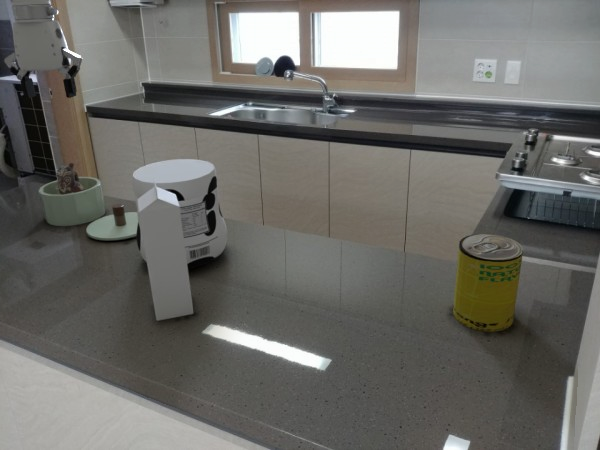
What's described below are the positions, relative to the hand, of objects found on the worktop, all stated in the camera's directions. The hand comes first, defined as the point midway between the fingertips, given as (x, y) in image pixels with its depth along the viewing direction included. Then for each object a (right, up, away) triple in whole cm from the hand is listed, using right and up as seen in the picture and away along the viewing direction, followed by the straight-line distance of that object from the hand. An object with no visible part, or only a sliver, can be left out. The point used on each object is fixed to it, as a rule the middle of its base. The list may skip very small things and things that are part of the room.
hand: (51, 97), depth 119 cm
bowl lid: (+15, -29, +2) cm, 33 cm away
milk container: (+32, -35, -12) cm, 49 cm away
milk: (+34, -42, -30) cm, 62 cm away
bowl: (+1, -26, +11) cm, 28 cm away
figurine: (+1, -26, +11) cm, 28 cm away
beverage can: (+84, -43, -35) cm, 100 cm away
